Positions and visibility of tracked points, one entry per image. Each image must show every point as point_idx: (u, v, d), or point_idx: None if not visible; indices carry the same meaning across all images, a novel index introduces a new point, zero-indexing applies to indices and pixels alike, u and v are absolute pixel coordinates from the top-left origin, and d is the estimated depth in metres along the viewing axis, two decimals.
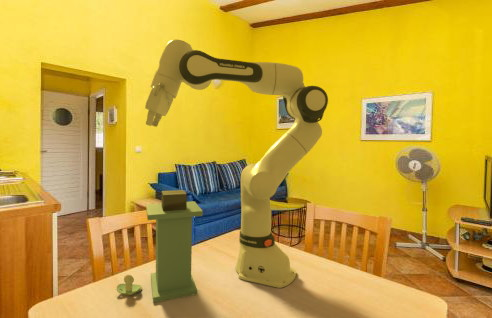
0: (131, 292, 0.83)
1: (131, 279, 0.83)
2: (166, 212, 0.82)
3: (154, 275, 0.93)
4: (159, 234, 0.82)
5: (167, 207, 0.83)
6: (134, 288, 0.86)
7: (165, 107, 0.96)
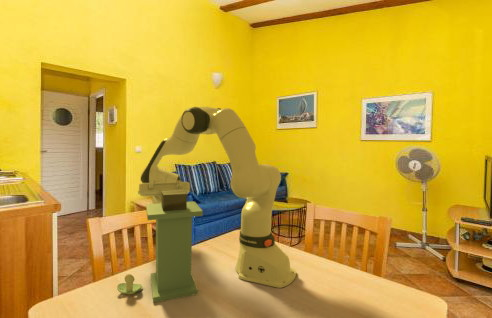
0: (132, 291, 0.84)
1: (132, 279, 0.84)
2: (166, 212, 0.82)
3: (154, 275, 0.93)
4: (159, 234, 0.82)
5: (167, 207, 0.83)
6: (135, 287, 0.86)
7: None
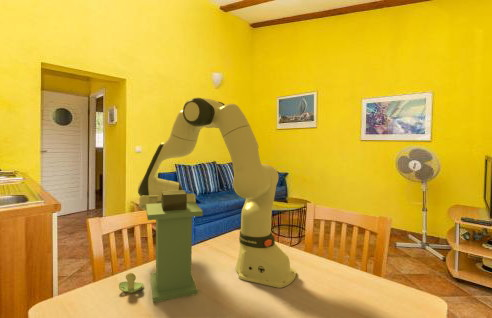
0: (133, 290, 0.84)
1: (133, 277, 0.85)
2: (166, 212, 0.82)
3: (154, 275, 0.93)
4: (159, 234, 0.82)
5: (167, 207, 0.83)
6: (136, 286, 0.87)
7: None
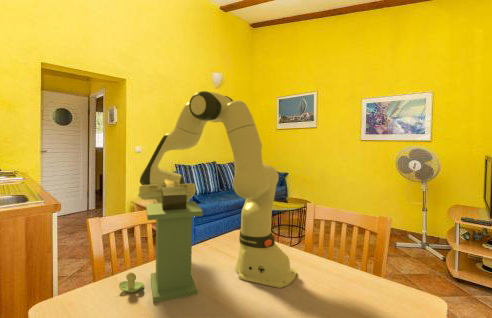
0: (133, 289, 0.85)
1: (133, 277, 0.85)
2: (166, 212, 0.82)
3: (154, 275, 0.93)
4: (159, 234, 0.82)
5: (167, 206, 0.84)
6: (136, 285, 0.87)
7: None
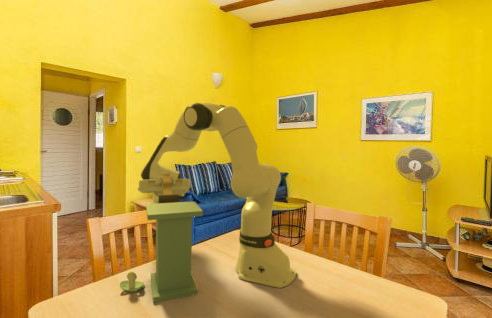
0: (134, 289, 0.85)
1: (134, 276, 0.85)
2: (166, 212, 0.82)
3: (154, 275, 0.93)
4: (159, 234, 0.82)
5: None
6: (137, 285, 0.87)
7: None
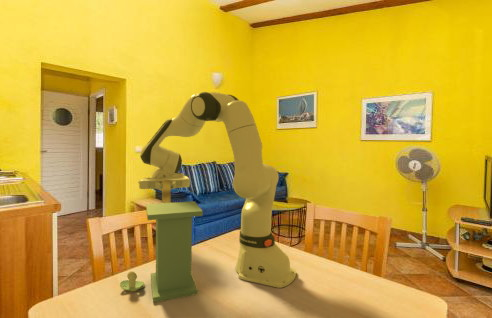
0: (134, 288, 0.85)
1: (134, 276, 0.85)
2: (166, 212, 0.82)
3: (154, 275, 0.93)
4: (159, 234, 0.82)
5: None
6: (137, 285, 0.88)
7: (172, 178, 1.16)
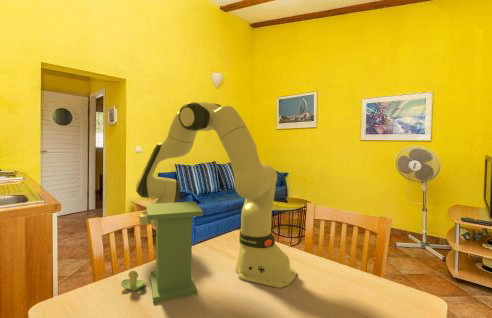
0: (135, 287, 0.86)
1: (135, 275, 0.86)
2: (166, 212, 0.82)
3: (154, 275, 0.93)
4: (159, 234, 0.82)
5: None
6: (138, 283, 0.88)
7: None
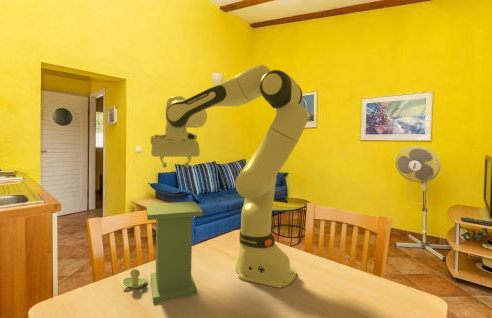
0: (137, 285, 0.87)
1: (137, 273, 0.87)
2: (166, 212, 0.82)
3: (154, 275, 0.93)
4: (159, 234, 0.82)
5: None
6: (140, 282, 0.89)
7: (183, 149, 1.18)
